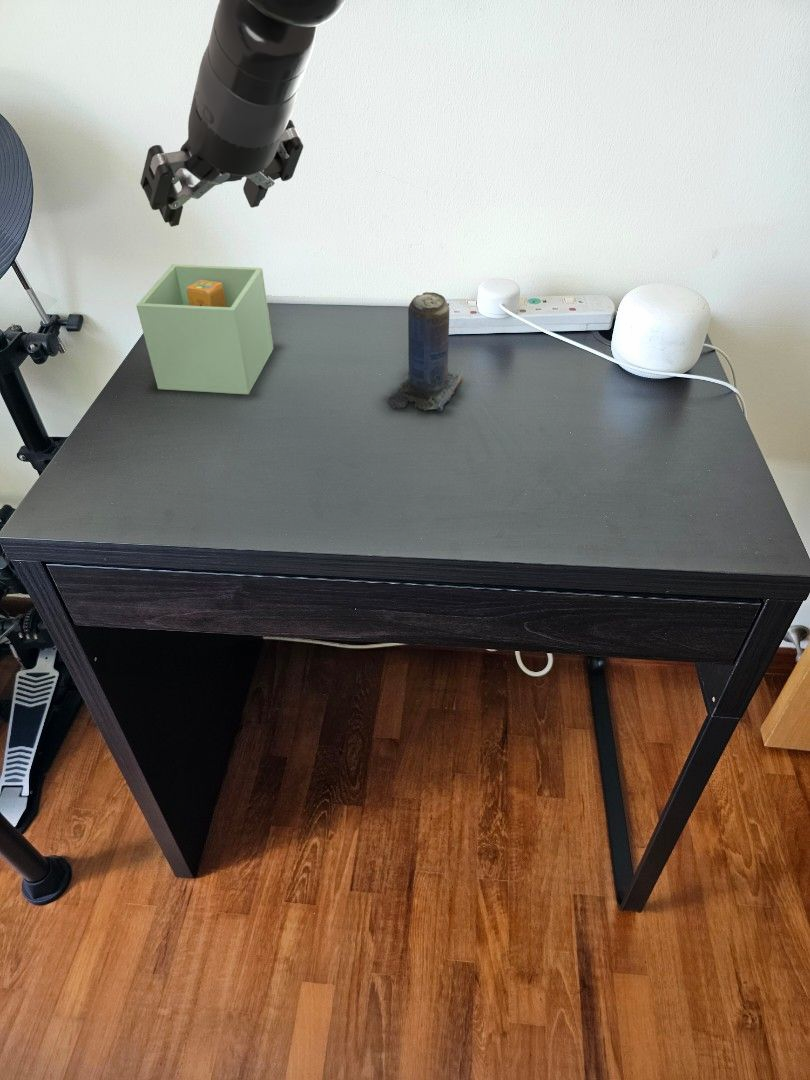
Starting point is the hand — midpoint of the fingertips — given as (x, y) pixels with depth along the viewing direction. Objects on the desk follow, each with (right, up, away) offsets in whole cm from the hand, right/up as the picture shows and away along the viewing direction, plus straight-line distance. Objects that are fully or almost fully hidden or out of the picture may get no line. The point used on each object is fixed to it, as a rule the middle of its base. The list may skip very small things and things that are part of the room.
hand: (210, 207), depth 78 cm
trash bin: (-4, -12, +19) cm, 23 cm away
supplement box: (-4, -11, +19) cm, 23 cm away
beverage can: (+22, -16, +14) cm, 30 cm away
